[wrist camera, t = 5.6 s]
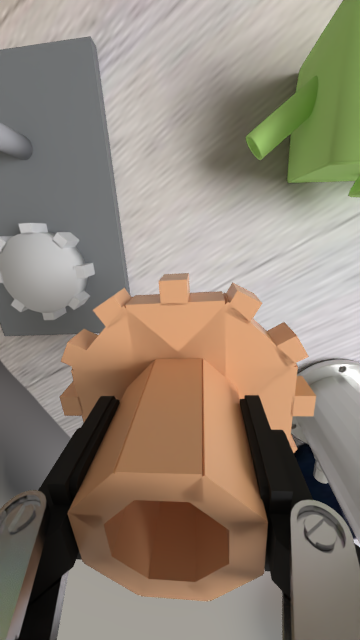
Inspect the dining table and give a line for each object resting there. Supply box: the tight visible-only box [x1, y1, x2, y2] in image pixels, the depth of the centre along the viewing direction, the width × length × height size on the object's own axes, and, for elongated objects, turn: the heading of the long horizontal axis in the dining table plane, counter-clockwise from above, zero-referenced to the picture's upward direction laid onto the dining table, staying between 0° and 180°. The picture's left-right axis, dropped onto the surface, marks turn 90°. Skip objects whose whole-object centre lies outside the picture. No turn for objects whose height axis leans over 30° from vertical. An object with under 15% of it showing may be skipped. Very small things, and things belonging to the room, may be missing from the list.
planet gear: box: [60, 273, 316, 601], centre depth 10 cm, size 12×12×7 cm
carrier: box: [0, 37, 130, 336], centre depth 23 cm, size 26×16×7 cm, turn 4°
